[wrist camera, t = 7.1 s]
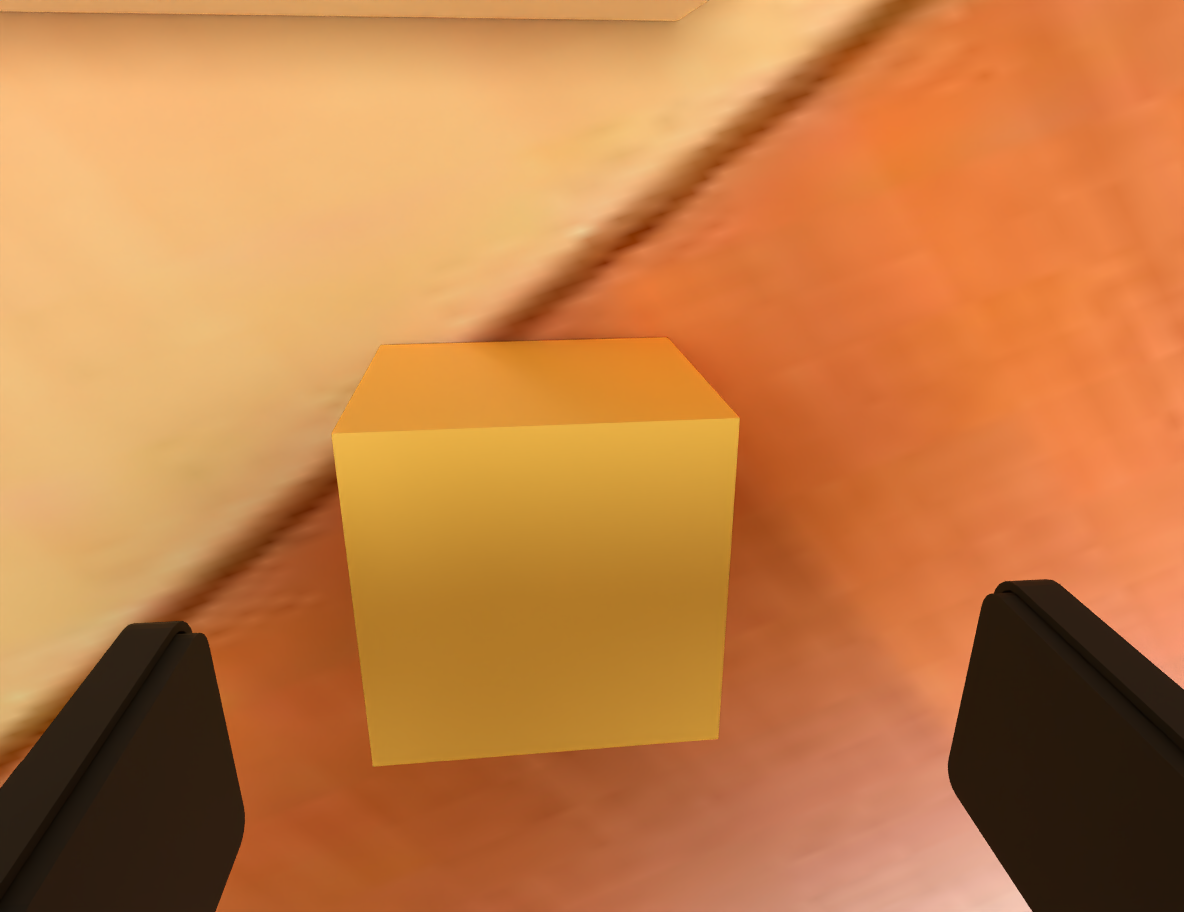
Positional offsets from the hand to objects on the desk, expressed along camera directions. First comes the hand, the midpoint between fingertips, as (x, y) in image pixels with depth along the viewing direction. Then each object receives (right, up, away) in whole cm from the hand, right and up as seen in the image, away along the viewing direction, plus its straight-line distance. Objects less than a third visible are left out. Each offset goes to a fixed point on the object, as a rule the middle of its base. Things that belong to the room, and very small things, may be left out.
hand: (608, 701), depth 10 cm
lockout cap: (-2, +3, +8) cm, 9 cm away
